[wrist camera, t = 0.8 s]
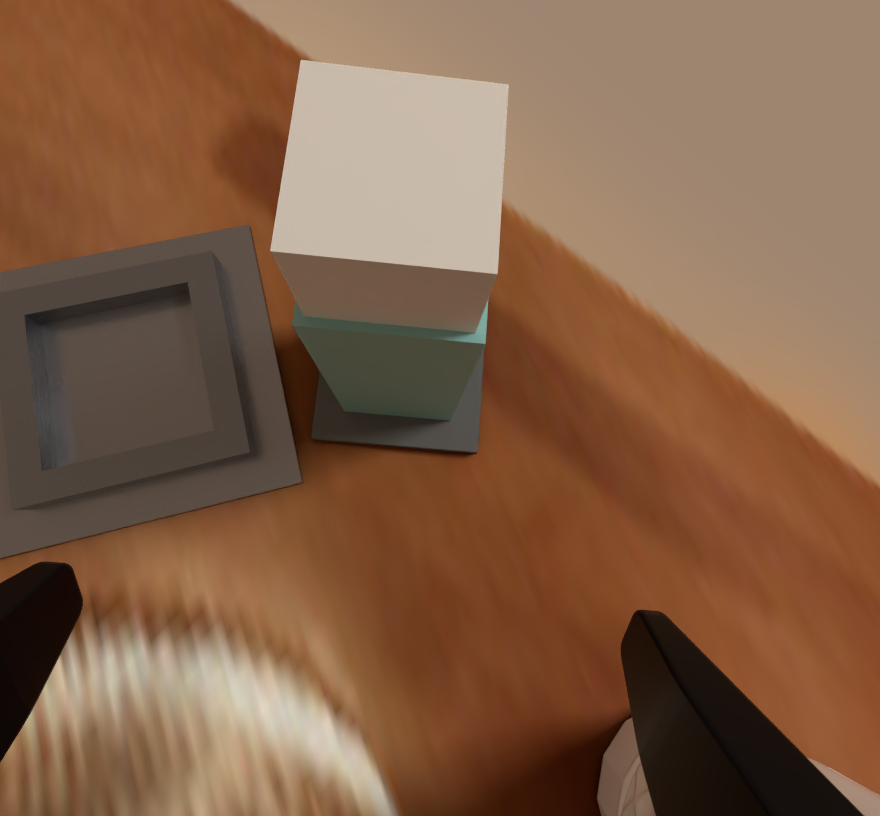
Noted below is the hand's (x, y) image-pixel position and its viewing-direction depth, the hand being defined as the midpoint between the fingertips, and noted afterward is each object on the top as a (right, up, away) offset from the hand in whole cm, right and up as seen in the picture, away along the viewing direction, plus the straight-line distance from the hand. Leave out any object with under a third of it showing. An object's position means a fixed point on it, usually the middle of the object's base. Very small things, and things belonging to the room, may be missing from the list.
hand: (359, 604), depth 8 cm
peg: (0, +5, +14) cm, 15 cm away
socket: (-12, +4, +14) cm, 18 cm away
